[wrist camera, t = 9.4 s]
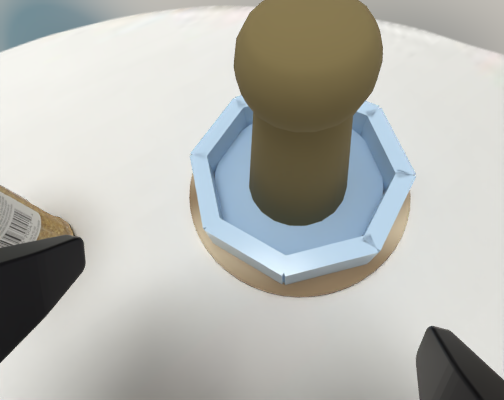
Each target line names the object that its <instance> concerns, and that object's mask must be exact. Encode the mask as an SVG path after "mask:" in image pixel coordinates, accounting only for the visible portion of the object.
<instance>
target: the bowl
mask: <svg viewBox="0 0 504 400" xmlns="http://www.w3.org/2000/svg"><path fill="white" fill-rule="evenodd" d="M235 98H236V99H234V98H233V99H232V101H231V102H230V103H229V105H228V106H227V107H226V108H225V110H224V111H223V112H222V114H221V115H220V116H219V117H218V119H217V120H216V121H215V123H214V124H213V125H212V126H211V128H210V129H209V130H208V132H207V133H206V134H205V135H204V137H203V138H202V139H201V141H200V142H199V143H198V144H197V146H196V147H195V148H194V149H193V151H192V152H191V155H190V159H191V164H192V170H193V176H194V181H195V187H196V192H197V198H198V204H199V209H200V215H201V220H202V226H203V229H204V230H205V232H206V233H207V235H208V236H209V238H210V239H211V241H212V242H213V243H214V244H215V245H217V246H218V247H220V248H222V249H223V250H225V251H227V252H228V253H230V254H232V255H233V256H235V257H237V258H239V259H240V260H242V261H244V262H245V263H247V264H249V265H250V266H252V267H254V268H255V269H257V270H259V271H260V272H262V273H264V274H265V275H267V276H269V277H270V278H272V279H274V280H275V281H277V282H279V283H280V284H283V283H285V285H287V284H291V283H295V282H299V281H303V280H307V279H311V278H315V277H319V276H323V275H326V274H330V273H334V272H338V271H342V270H346V269H350V268H354V267H358V266H362V265H365V264H367V263H368V262H370V261H371V260H372V259H373V258H374V257H375V256H376V255H377V254H378V253H379V252H380V251H381V249H382V247H383V244H384V242H385V240H386V238H387V236H388V234H389V232H390V230H391V228H392V226H393V224H394V221H395V219H396V217H397V215H398V213H399V211H400V209H401V207H402V205H403V203H404V201H405V198H406V196H407V194H408V192H409V190H410V188H411V186H412V184H413V182H414V180H415V178H416V176H415V174H416V173H415V171H414V169H413V167H412V166H411V164H410V162H409V160H408V158H407V156H406V154H405V152H404V150H403V148H402V146H401V145H400V143H399V141H398V139H397V137H396V135H395V133H394V131H393V129H392V127H391V125H390V124H389V122H388V120H387V118H386V116H385V114H384V112H383V110H382V108H379V106H378V105H375V104H373V103H370V102H367V101H365V102H364V103H363V104H362V105H361V107H360V108H359V109H358V110H357V112H356V113H355V114H354V115H353V123H352V135H351V146H350V157H349V169H348V180H347V189H346V192H345V196H344V199H343V201H342V203H341V204H340V205H339V207H338V208H337V210H336V211H335V212H334V213H333V214H331V215H330V216H328V217H327V218H326V219H324V220H323V221H321V222H317V223H314V224H311V225H307V226H289V225H286V224H282V223H279V222H276V221H274V220H272V219H271V218H269V217H268V216H266V215H265V214H264V213H262V212H261V211H260V209H259V208H258V207H257V205H256V204H255V203H254V201H253V199H252V196H251V192H250V189H249V177H250V159H251V142H252V124H253V111H252V110H251V109H250V107H249V106H248V105H247V104H246V102H245V100H244V98H243V97H242V95H241V96H237V97H235Z"/></svg>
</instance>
